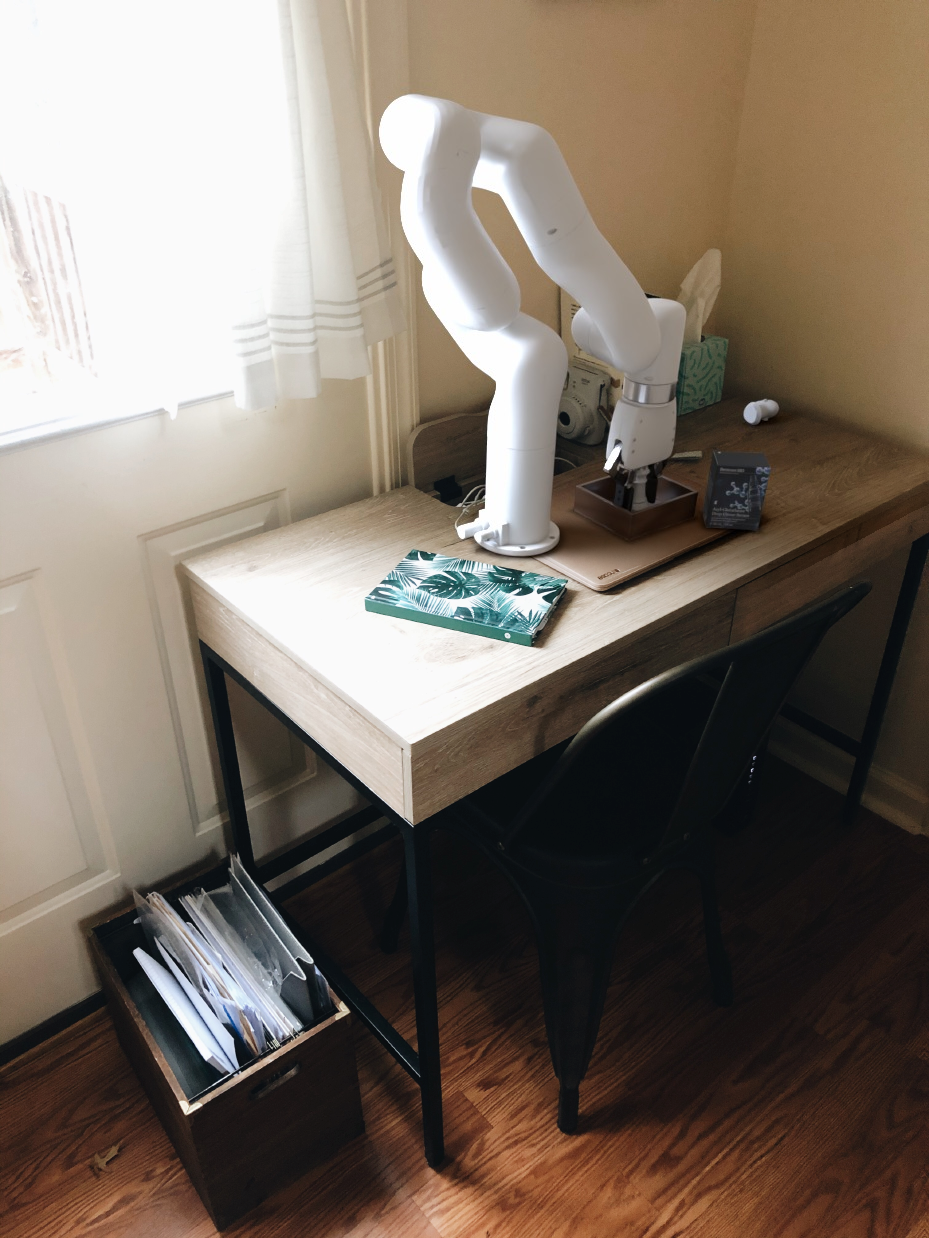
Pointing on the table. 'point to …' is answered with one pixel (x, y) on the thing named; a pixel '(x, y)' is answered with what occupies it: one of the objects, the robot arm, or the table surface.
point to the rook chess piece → (640, 489)
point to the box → (736, 490)
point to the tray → (666, 511)
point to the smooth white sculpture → (760, 411)
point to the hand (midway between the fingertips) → (634, 503)
